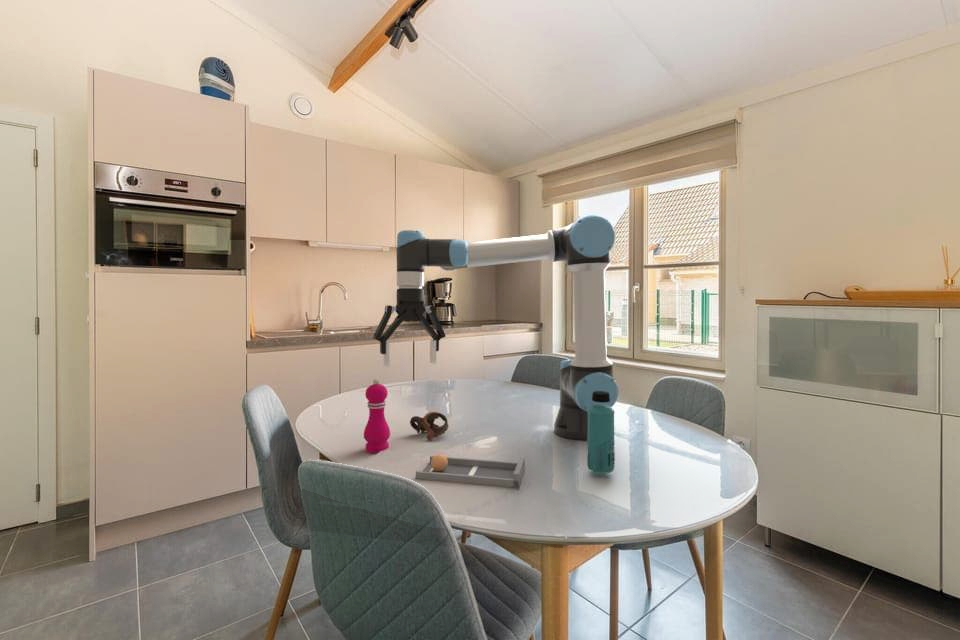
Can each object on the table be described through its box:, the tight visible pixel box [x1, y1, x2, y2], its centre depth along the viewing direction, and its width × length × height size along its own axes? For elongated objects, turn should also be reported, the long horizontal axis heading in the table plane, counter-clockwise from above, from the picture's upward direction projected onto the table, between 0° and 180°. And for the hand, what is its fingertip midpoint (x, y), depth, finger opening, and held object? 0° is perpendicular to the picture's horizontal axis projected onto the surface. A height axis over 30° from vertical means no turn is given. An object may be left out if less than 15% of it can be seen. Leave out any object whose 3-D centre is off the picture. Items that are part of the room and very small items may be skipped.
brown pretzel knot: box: [409, 411, 449, 441], centre depth 137 cm, size 12×10×8 cm
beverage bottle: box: [586, 391, 616, 474], centre depth 107 cm, size 6×7×20 cm
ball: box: [431, 453, 448, 471], centre depth 108 cm, size 4×4×4 cm
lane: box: [415, 455, 526, 491], centre depth 107 cm, size 24×11×4 cm, turn 78°
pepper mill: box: [363, 378, 391, 454], centre depth 125 cm, size 7×7×20 cm
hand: (410, 364), depth 124 cm, fingers open, 13 cm apart
